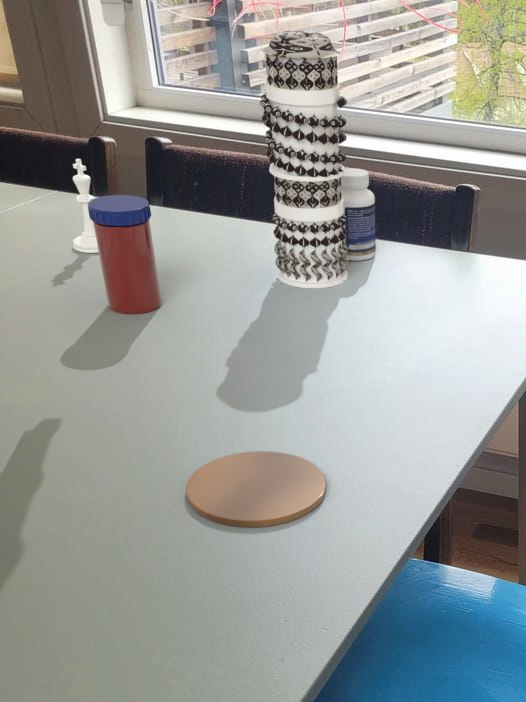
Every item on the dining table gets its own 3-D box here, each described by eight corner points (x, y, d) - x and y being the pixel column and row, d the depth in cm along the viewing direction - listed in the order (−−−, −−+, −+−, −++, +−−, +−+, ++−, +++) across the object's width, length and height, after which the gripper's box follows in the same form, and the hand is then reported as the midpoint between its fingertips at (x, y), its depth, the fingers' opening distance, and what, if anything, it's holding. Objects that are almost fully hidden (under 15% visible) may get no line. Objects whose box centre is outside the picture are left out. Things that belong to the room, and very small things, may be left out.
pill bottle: (383, 252, 127) (383, 170, 121) (362, 264, 123) (360, 180, 117) (347, 245, 128) (344, 163, 122) (324, 256, 125) (321, 173, 118)
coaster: (178, 528, 75) (177, 521, 75) (195, 457, 84) (194, 451, 83) (324, 526, 77) (324, 520, 76) (327, 457, 85) (327, 450, 85)
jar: (104, 313, 107) (85, 214, 100) (113, 294, 111) (96, 198, 105) (157, 314, 107) (142, 215, 101) (165, 295, 112) (151, 200, 105)
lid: (84, 225, 101) (81, 211, 100) (96, 207, 105) (93, 193, 104) (146, 226, 101) (144, 212, 100) (155, 209, 106) (153, 195, 105)
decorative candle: (304, 257, 124) (290, 24, 108) (366, 273, 121) (361, 35, 105) (257, 278, 117) (236, 33, 102) (322, 295, 114) (310, 44, 98)
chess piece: (92, 255, 120) (75, 167, 114) (64, 247, 122) (46, 159, 116) (123, 246, 124) (109, 159, 117) (95, 237, 125) (80, 151, 119)
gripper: (71, -173, 94) (98, 1, 102) (36, -172, 78) (71, 32, 87) (141, -168, 95) (162, 3, 103) (119, -166, 79) (146, 35, 88)
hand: (120, 17), depth 95 cm, fingers open, 8 cm apart
